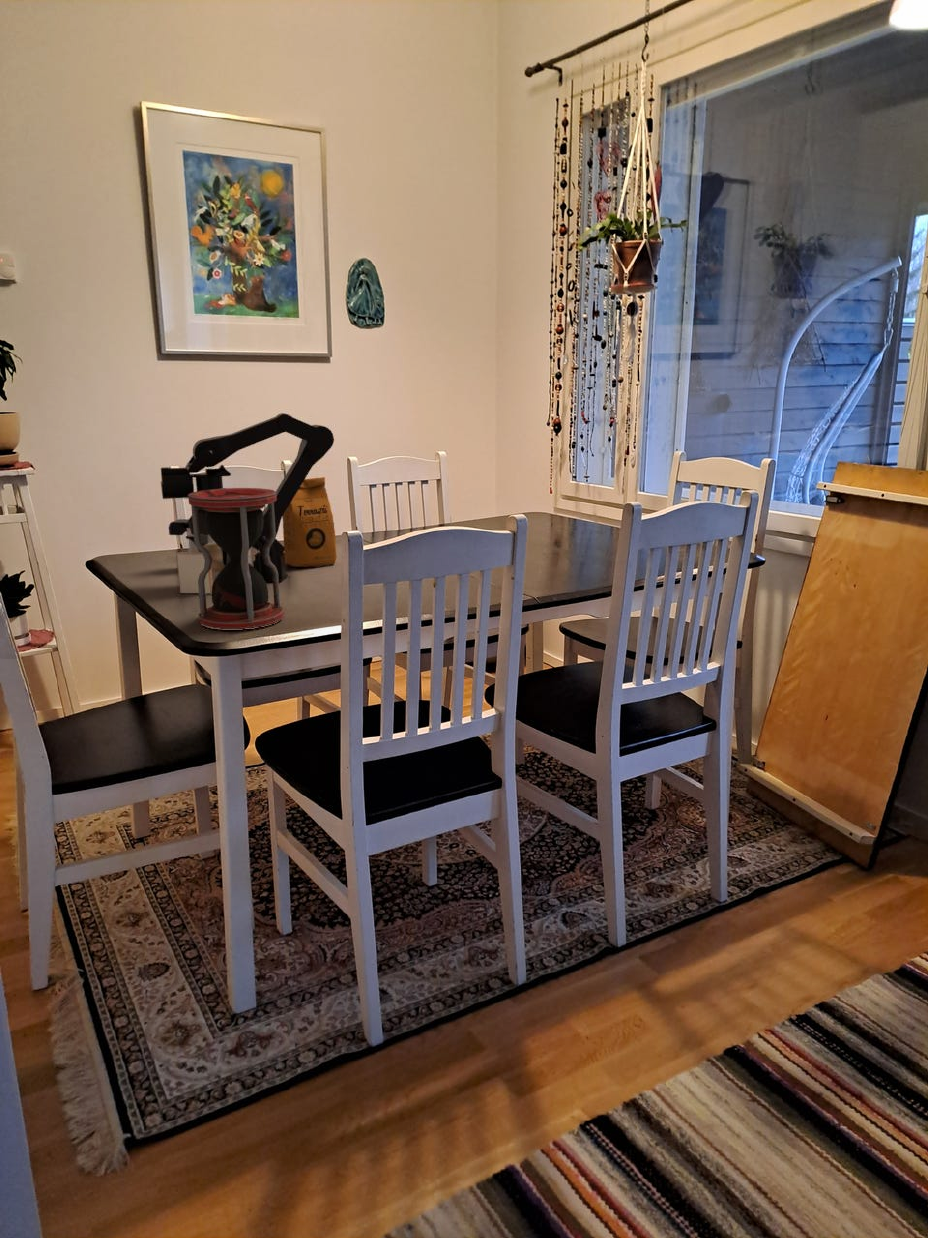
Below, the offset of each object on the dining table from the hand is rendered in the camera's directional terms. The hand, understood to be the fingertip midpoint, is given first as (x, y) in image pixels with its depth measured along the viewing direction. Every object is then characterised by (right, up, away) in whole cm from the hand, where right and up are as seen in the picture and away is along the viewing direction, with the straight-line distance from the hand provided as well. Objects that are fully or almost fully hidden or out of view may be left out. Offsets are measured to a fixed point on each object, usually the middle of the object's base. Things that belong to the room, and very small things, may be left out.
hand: (216, 564), depth 196 cm
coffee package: (+18, +1, +21) cm, 28 cm away
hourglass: (+13, -13, -28) cm, 34 cm away
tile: (-2, -7, -7) cm, 10 cm away
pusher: (0, -1, 0) cm, 1 cm away
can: (-8, 0, +18) cm, 19 cm away
